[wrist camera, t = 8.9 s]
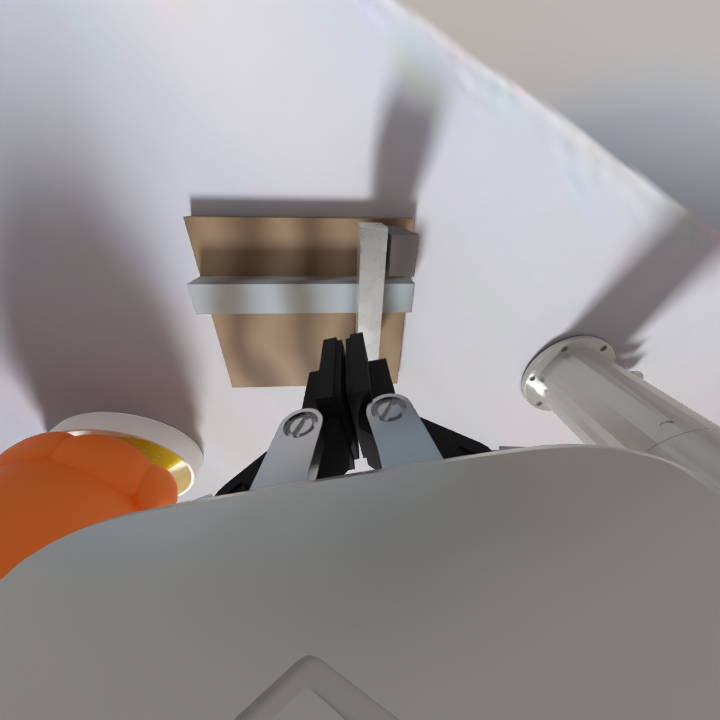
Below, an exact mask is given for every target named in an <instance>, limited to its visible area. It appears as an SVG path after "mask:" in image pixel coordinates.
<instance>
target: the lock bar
mask: <svg viewBox="0 0 720 720" xmlns="http://www.w3.org/2000/svg"><path fill="white" fill-rule="evenodd" d="M387 238H388V227H387V226H385V225H384V224H382V223H371V222H358V239H357V286H356V333H360V332H363V337H364V342H365V347H366V352H367V357H368V361H372V360H378V359H379V346H380V333H381V319H382V306H383V292H384V279H385V265H386V252H387Z"/></svg>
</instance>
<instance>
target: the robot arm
mask: <svg viewBox="0 0 720 720" xmlns="http://www.w3.org/2000/svg"><path fill="white" fill-rule="evenodd" d="M615 362H616V356H615V352H614V350H613V348H612V347H611V346H610V345H609V344H608V343H606V342H605V341H603V340H601V339H599V338H597V337H593V336H576V337H571V338H568V339H565V340H562V341H560V342H557V343H555V344H553V345H552V346H550V347H548V348H547V349H545V350H544V351H543V352H542V353H540V354H539V355H538V356H537V357H536V358H535V359H534V360H533V361H532V362H531V363H530V365H529V366H528V368H527V369H526V371H525V373H524V376H523V379H522V383H521V390H522V393H523V396H524V397H525V399H526V400H527V401H528V402H529V403H530V404H531V405H532V406H534V407H535V408H538V409H541V410H548V411H553V412H554V413H555V414H556V415H557V416H558V417H559V418H560V419H561V420H562V421H563V422H564V423H565V424H566V425H567V427H568V428H569V429H570V430H571V431H572V432H573V433H574V434H575V435H576V436H577V437H578V438H579V439H580V440H581V441H582V442H583V443H584V444H585V445H584V444H557V445H541V446H533V447H506V446H499V450H490V449H489V448H488V447H487V446H485V445H483V444H482V443H480V442H477V441H475V440H473V439H470V438H468V437H466V436H463V435H461V434H459V433H456V432H454V431H452V430H449V429H447V428H444V427H442V426H440V425H437V424H435V423H433V422H430V421H428V420H426V419H423V418H421V417H419V416H418V414H417V412H416V410H415V409H414V407H413V405H412V403H411V402H410V401H409V400H408V398H406V397H404V396H402V395H399V394H395V391H394V387H393V383H392V380H391V376H390V372H389V368H388V364H387V360H386V358H383V359H378V360H372V361H368V357H367V352H366V347H365V342H364V337H363V332H360V333H355V334H350V338H347V339H346V353H345V349H344V345H343V341H342V340H337V337H334V338H329V339H324V340H323V346H322V353H321V360H320V367H319V370H318V371H313V372H310V373H309V376H308V381H307V386H306V391H305V396H304V402H303V407H302V409H300V410H297V411H295V412H293V413H291V414H290V415H288V416H287V417H286V418H285V419H284V420H283V421H282V422H281V424H280V425H279V428H278V430H277V432H276V434H275V436H274V438H273V440H272V443H271V445H270V447H269V449H268V451H267V452H265V453H264V454H263V455H262V456H260V457H259V458H258V459H257V460H255V461H254V462H253V463H252V464H250V465H249V466H248V467H247V468H245V469H244V470H243V471H242V472H240V473H239V474H238V475H237V476H235V477H234V478H233V479H232V480H230V481H229V482H228V483H227V484H225V485H224V486H223V487H222V488H221V489H220V490H219V491H218V492H217V494H216V495H215V496H214V497H213V496H212V494H209V495H206V496H203V497H201V498H198V499H195V500H192V501H186V502H180V503H175V504H169V505H165V506H160V507H155V508H150V509H145V510H141V511H136V512H131V513H127V514H123V515H120V516H116V517H113V518H109V519H106V520H103V521H100V522H98V523H95V524H92V525H90V526H87V527H84V528H82V529H79V530H77V531H75V532H73V533H71V534H69V535H66V536H64V537H62V538H60V539H58V540H56V541H54V542H52V543H50V544H49V545H47V546H45V547H43V548H42V549H40V550H38V551H37V552H35V553H34V554H32V555H30V556H29V557H27V558H26V559H24V560H23V561H22V562H20V563H19V564H18V565H17V566H15V567H14V568H13V569H12V570H11V571H10V572H9V573H8V574H7V575H5V576H4V577H3V578H2V579H1V580H0V720H720V427H719V426H717V425H716V424H714V423H713V422H711V421H709V420H708V419H706V418H704V417H703V416H701V415H700V414H698V413H696V412H695V411H693V410H691V409H690V408H688V407H686V406H685V405H683V404H682V403H680V402H678V401H677V400H675V399H673V398H672V397H670V396H669V395H667V394H665V393H664V392H662V391H660V390H659V389H657V388H655V387H654V386H652V385H651V384H649V383H647V382H646V381H644V380H642V379H643V374H642V373H641V372H639V371H628V370H626V369H624V368H623V367H621V366H620V365H618V364H616V363H615ZM358 440H359V443H358ZM359 444H360V447H361V451H362V455H363V458H367V461H368V465H369V466H371V467H372V468H374V469H375V470H370V471H364V472H358V473H352V474H346V475H344V474H345V473H346V472H347V471H348V470H352V469H355V464H354V460H355V459H359Z"/></svg>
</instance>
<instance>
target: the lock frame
mask: <svg viewBox="0 0 720 720" xmlns="http://www.w3.org/2000/svg"><path fill="white" fill-rule="evenodd" d="M183 218H184V221H185V225H186V228H187V231H188V235H189V238H190V242H191V245H192V249H193V252H194V256H195V259H196V263H197V266H198V270H199V273H200V277H198V278H197V279H195V280H193V281H192V282H190V283H188V284H187V288H188V291H189V294H190V297H191V300H192V303H193V306H194V309H195V313H196V314H211V315H212V318H213V321H214V325H215V328H216V332H217V335H218V339H219V342H220V346H221V349H222V353H223V356H224V359H225V363H226V366H227V370H228V373H229V377H230V380H231V384H232V387H273V386H307V381H308V376H309V373H310V372H313V371H318V370H319V367H320V360H321V353H322V346H323V340H324V339H329V338H334V337H337V340H342V341H343V345H344V349H345V353H346V339H347V338H350V334H355V333H356V286H357V239H358V222H371V223H382V224H384V225H385V226H387V227H388V238H387V252H386V265H385V279H384V292H383V306H382V319H381V333H380V346H379V359H383V358H386V360H387V364H388V368H389V372H390V376H391V380H392V383H393V384H394V383H397V380H398V371H399V361H400V352H401V342H402V333H403V324H404V314H405V312H412V304H413V295H414V287H415V283H414V282H413V281H412V280H411V278H410V277H409V276H414V271H415V263H416V254H417V245H418V237H419V235H417V234H416V233H414V232H413V229H414V219H412V218H342V217H252V216H186V217H183Z"/></svg>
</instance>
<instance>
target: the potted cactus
mask: <svg viewBox="0 0 720 720" xmlns="http://www.w3.org/2000/svg"><path fill="white" fill-rule="evenodd" d="M202 465H203V454H202V451H201V449H200V448H199V446H198V445H197V444H196V443H195V442H194V441H193V440H192V439H191V438H190V437H188V436H187V435H186V434H184V433H183V432H181V431H179V430H177V429H176V428H174V427H172V426H169V425H167V424H165V423H162V422H159V421H157V420H153V419H150V418H147V417H143V416H138V415H133V414H127V413H118V412H91V413H84V414H79V415H75V416H72V417H69V418H67V419H65V420H63V421H62V422H60V423H59V424H58V425H56V426H55V427H54V428H53V429H51V430H50V431H49V432H47V433H42V434H39V435H36V436H32V437H30V438H27V439H24V440H23V441H21V442H19V443H17V444H15V445H14V446H12V447H10V448H8V449H7V450H5V451H4V452H3V453H2V454H1V455H0V580H1V579H2V578H3V577H4V576H5V575H7V574H8V573H9V572H10V571H11V570H12V569H13V568H14V567H15V566H17V565H18V564H19V563H20V562H22V561H23V560H24V559H26V558H27V557H29V556H30V555H32V554H34V553H35V552H37V551H38V550H40V549H42V548H43V547H45V546H47V545H49V544H50V543H52V542H54V541H56V540H58V539H60V538H62V537H64V536H66V535H69V534H71V533H73V532H75V531H77V530H79V529H82V528H84V527H87V526H90V525H92V524H95V523H98V522H100V521H103V520H106V519H109V518H113V517H116V516H120V515H123V514H127V513H131V512H136V511H141V510H145V509H150V508H155V507H160V506H165V505H169V504H175V503H176V502H177V498H178V496H180V495H182V494H184V493H185V492H187V491H188V490H189V489H190V488H191V486H192V485H193V483H194V481H195V479H196V477H197V475H198V473H199V471H200V469H201V467H202Z"/></svg>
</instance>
